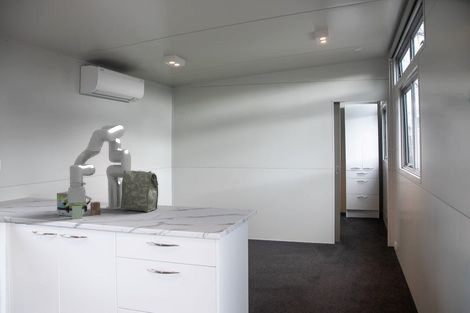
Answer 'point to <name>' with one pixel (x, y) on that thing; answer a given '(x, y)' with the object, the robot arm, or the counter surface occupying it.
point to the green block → (76, 211)
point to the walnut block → (95, 208)
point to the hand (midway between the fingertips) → (76, 212)
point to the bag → (139, 191)
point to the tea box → (62, 208)
